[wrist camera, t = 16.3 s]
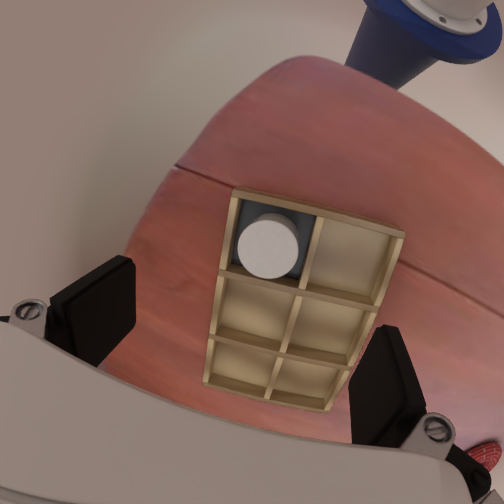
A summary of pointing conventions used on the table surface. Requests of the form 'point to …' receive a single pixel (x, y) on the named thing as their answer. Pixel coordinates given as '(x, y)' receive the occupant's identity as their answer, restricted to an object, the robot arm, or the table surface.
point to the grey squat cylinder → (269, 246)
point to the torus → (486, 454)
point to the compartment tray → (298, 304)
